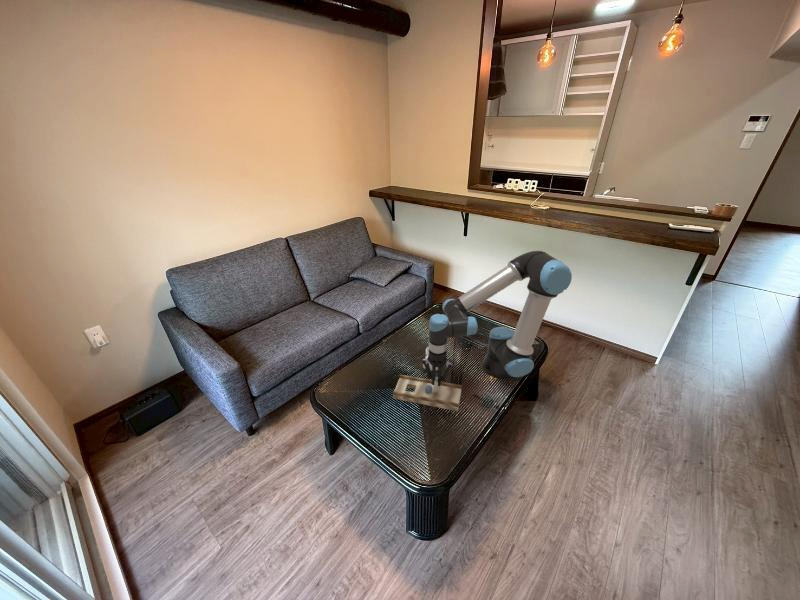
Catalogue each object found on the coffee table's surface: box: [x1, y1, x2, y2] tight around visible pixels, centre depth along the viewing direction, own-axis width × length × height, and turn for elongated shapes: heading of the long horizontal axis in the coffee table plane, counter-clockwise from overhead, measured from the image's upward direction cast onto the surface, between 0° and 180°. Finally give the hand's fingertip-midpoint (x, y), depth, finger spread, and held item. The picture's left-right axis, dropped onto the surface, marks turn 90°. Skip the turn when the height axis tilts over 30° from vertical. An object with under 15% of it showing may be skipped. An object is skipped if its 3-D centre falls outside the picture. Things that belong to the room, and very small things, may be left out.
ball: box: [425, 385, 432, 393], centre depth 139 cm, size 4×4×4 cm
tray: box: [392, 374, 463, 412], centre depth 141 cm, size 30×12×4 cm, turn 74°
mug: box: [422, 346, 438, 372], centre depth 156 cm, size 12×8×10 cm
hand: (436, 389), depth 138 cm, fingers closed
